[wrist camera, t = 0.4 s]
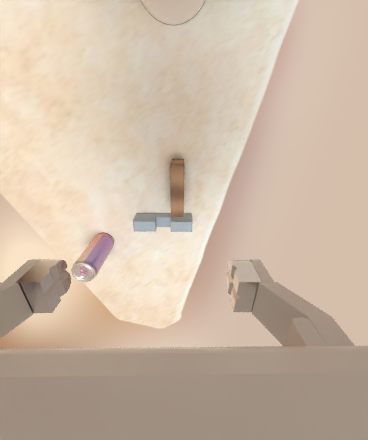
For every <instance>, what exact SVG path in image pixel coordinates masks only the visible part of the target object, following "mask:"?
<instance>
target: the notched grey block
mask: <svg viewBox="0 0 368 440" xmlns="http://www.w3.org/2000/svg"><path fill="white" fill-rule="evenodd" d="M133 227H134V231H156V227H171V232H192V215H191V214H184V217H171V213H137V215H136V216H135V218H134V220H133Z"/></svg>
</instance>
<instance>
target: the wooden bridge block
mask: <svg viewBox="0 0 368 440" xmlns="http://www.w3.org/2000/svg"><path fill="white" fill-rule="evenodd" d="M170 184H171V217H184V159H172V161H171V165H170Z"/></svg>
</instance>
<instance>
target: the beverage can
mask: <svg viewBox="0 0 368 440" xmlns="http://www.w3.org/2000/svg"><path fill="white" fill-rule="evenodd" d="M113 245H114V240H113V238H112V237H111V236H110V235H108V234H105V233H101V234H98V235H96V237H95V238H94V239H93V240H92V242H91V243H90V244H89V246H88V247H87V248H86V249H85V251H84V252H83V253H82V255H81V256H80V257H79V258H78V260H77V261H76V262H75V264H74V265H73V267H72V275H73V276H74V277H75V278H76V279H78V280H80V281H84V282H87V281H91V280H92V279H93V278H94V277H95V276H96V275H97V273H98V272H99V270H100V268H101V266H102V265H103V263H104V261H105V259H106V257H107V256H108V254H109V252H110V250H111V249H112V247H113Z"/></svg>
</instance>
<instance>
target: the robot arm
mask: <svg viewBox="0 0 368 440" xmlns="http://www.w3.org/2000/svg"><path fill="white" fill-rule="evenodd" d="M141 2H142V3H143V5H144V7H145V8H146V9H147V11H148V12H149V13H150V14H151V15H152V16H153V17H154V18H156V19H157V20H159V21H161V22H163V23H166V24H170V25H177V24H182V23H184V22H186V21H188V20H190V19H191V18H193V17H194V16H195V15H196V14H197V13H198V11H199V10H200V9H201V7H202V6H203V4H204V2H205V0H141ZM66 268H67V264H66V261H64V260H49V259H42V260H41V259H32V260H29V261H27V262H26V263H25V264H24V265H23V266H21V267H20V268H19V269H18V270H17V271H16V272H14V273H13V274H12V275H11V276H10V277H8V278H7V279H6V280H5V281H4V282H3V283H0V338H1V337H3V336H5V335H6V334H7V333H9V332H10V331H11V330H13V329H14V328H15V327H16V326H18V325H19V324H21V323H22V322H23V321H25V320H26V319H27V318H29V317H30V316H31V315H33V313H52V312H53V311H54V310H55V308H56V307H57V305H58V304H59V302H60V301H61V300H60V297H61V296H62V295H64V294H65V293H66V292H67V291H68V289H69V287H70V284H71V276H70V274H69V273H68V272H67V271H66ZM228 269H229V272H228V273H227V275H226V285H227V291H228V293H229V294H230V295H231V298H230V301H231V305H232V308H233V311H234V312H252V314H253V315H254V316H255V317H256V318H257V319H258V320H259V321H260V322H261V323H262V324H263V325H264V326H265V327H266V328H267V329H268V331H270V333H271V334H272V335H273V336H274V337H275V338H276V339H277V340H278V341H279V342H280V343H281V344H282V345H283V346H282V347H175V348H174V347H170V348H169V347H162V348H41V349H40V348H38V349H0V440H368V346H355V345H354V344H353V343H352V342H351V340H350V339H349V338H348V336H347V335H346V334H345V333H344V331H343V330H342V329H341V328H340V326H339V325H338V324H337V323H336V322H335V320H334V319H333V318H332V317H331V316H330V315H328V314H326V313H325V312H323V311H322V310H320V309H319V308H317V307H315V306H314V305H312V304H311V303H309V302H308V301H306V300H304V299H303V298H301V297H300V296H298V295H296V294H295V293H293V292H292V291H290V290H288V289H287V288H285V287H284V286H282V285H281V284H279V283H275V282H274V281H273V280H272V278H271V276H270V275H269V273H268V271H267V270H266V268H265V267H264V265H263V263H262V262H261V261H260V260H229V262H228Z"/></svg>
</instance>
